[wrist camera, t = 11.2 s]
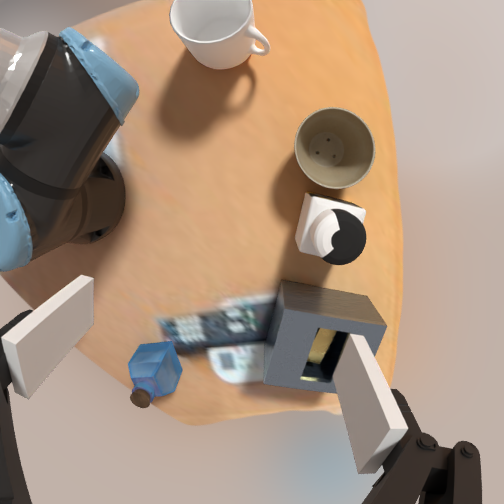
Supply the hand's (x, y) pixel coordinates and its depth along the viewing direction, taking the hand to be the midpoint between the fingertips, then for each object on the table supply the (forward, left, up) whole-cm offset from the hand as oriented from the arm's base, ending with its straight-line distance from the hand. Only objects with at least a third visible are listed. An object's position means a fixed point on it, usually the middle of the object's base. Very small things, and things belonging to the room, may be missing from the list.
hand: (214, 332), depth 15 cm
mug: (-8, +25, -33) cm, 41 cm away
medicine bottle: (+10, +2, -33) cm, 34 cm away
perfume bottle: (-11, -27, -33) cm, 44 cm away
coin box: (+13, -14, -32) cm, 38 cm away
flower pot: (+8, +12, -33) cm, 36 cm away
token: (+13, -15, -32) cm, 37 cm away
